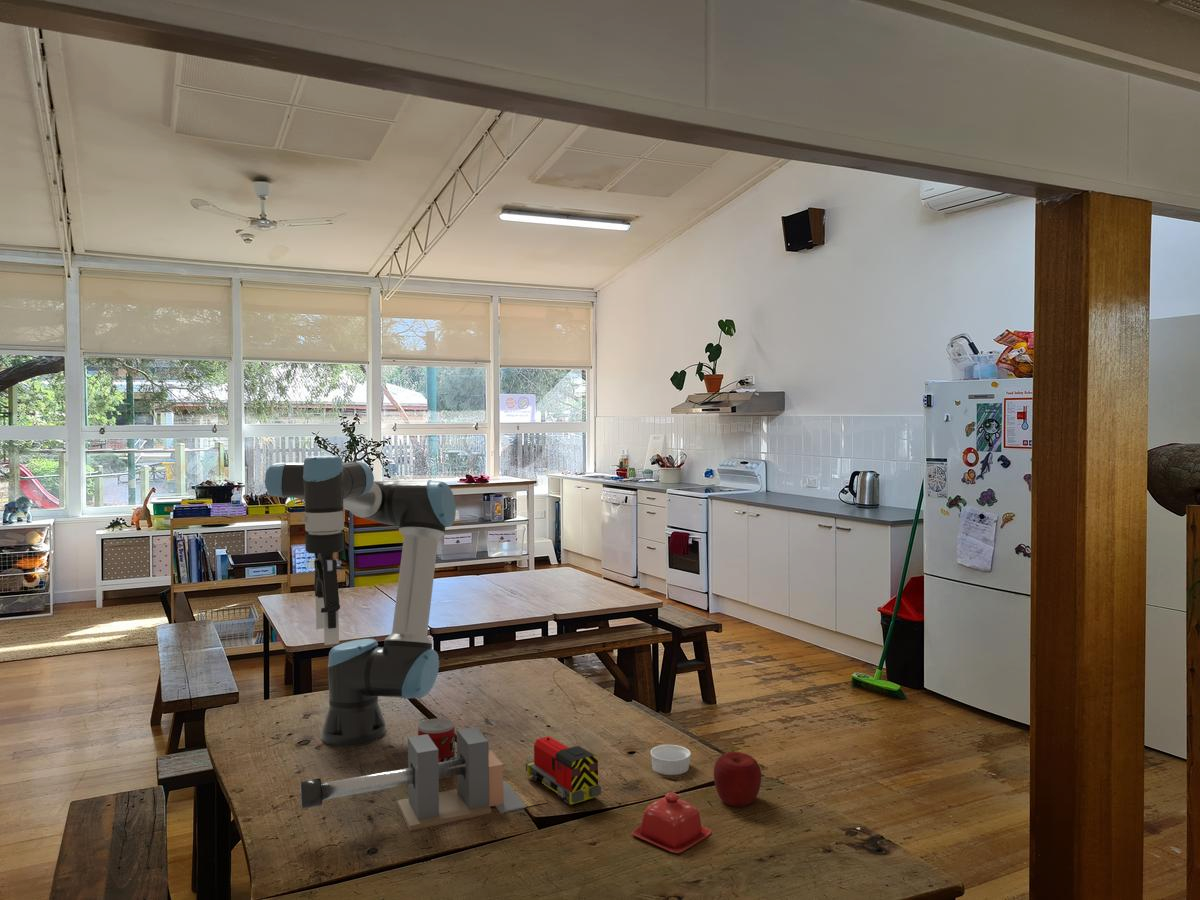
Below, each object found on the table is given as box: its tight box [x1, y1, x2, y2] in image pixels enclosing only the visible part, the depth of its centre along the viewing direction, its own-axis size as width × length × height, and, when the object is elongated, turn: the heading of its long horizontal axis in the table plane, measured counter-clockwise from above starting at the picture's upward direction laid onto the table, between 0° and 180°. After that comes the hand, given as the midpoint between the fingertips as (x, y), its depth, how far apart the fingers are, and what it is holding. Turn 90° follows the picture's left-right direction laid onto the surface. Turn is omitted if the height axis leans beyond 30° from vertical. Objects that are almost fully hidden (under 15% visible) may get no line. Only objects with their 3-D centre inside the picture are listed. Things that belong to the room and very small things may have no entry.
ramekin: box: [650, 744, 692, 776], centre depth 184 cm, size 9×9×4 cm
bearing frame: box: [396, 726, 492, 832], centre depth 166 cm, size 16×12×14 cm
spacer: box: [489, 750, 504, 808], centre depth 170 cm, size 8×3×8 cm, turn 25°
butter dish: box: [631, 791, 712, 855], centre depth 154 cm, size 12×12×8 cm
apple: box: [713, 751, 762, 808], centre depth 168 cm, size 10×10×10 cm
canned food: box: [417, 717, 456, 780], centre depth 183 cm, size 8×8×11 cm
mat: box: [494, 779, 527, 814], centre depth 172 cm, size 14×10×1 cm
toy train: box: [525, 735, 602, 805], centre depth 174 cm, size 7×19×10 cm, turn 35°
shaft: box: [299, 758, 466, 810], centre depth 161 cm, size 31×5×5 cm, turn 115°
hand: (327, 635), depth 170 cm, fingers open, 13 cm apart
